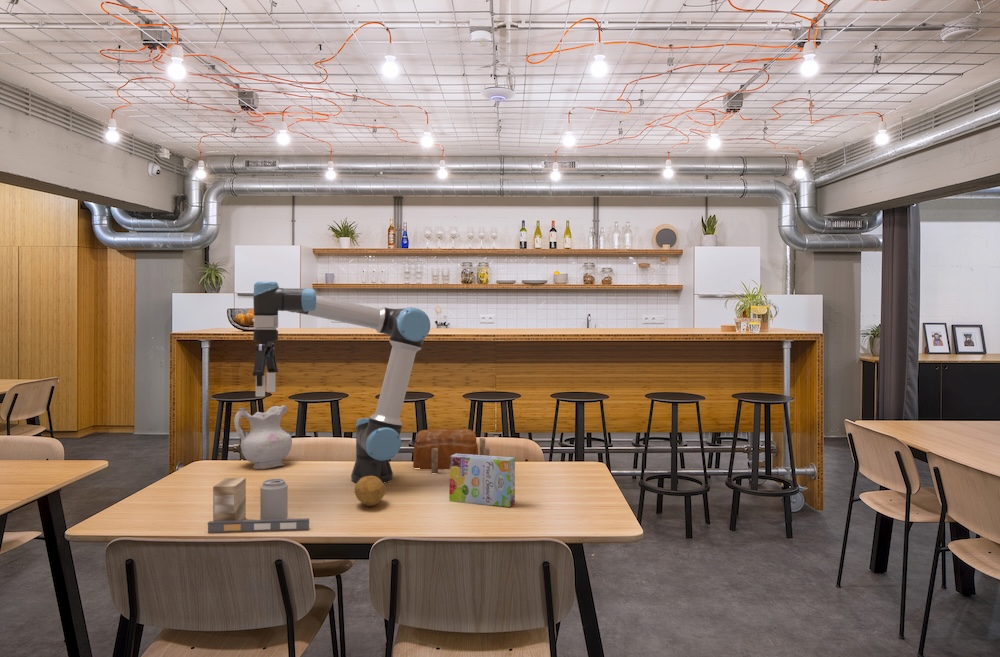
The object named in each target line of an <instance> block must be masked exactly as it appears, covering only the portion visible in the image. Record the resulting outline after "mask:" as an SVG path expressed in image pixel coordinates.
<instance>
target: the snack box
mask: <svg viewBox="0 0 1000 657" xmlns="http://www.w3.org/2000/svg"><path fill="white" fill-rule="evenodd" d="M448 471H449V473H448V474H449V479H448V480H449V481H448V482H449V485H448V486H449V495H448V496H449V500H448V501H449V502H452V501H453V503H463V502H464V503H465V504H472V503H473V504H472V505H475V504H476V505H483V504H484V505H486V506H493V505H495V507H503V506H504V508H505V507H506V508H510V507H512V506H513V505H515V504H514V503H516V457H512V456H498V455H497V456H496V455H490V456H486V455H480V454H478V455H471V454H454V455H452V456H450V470H448Z"/></svg>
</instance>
